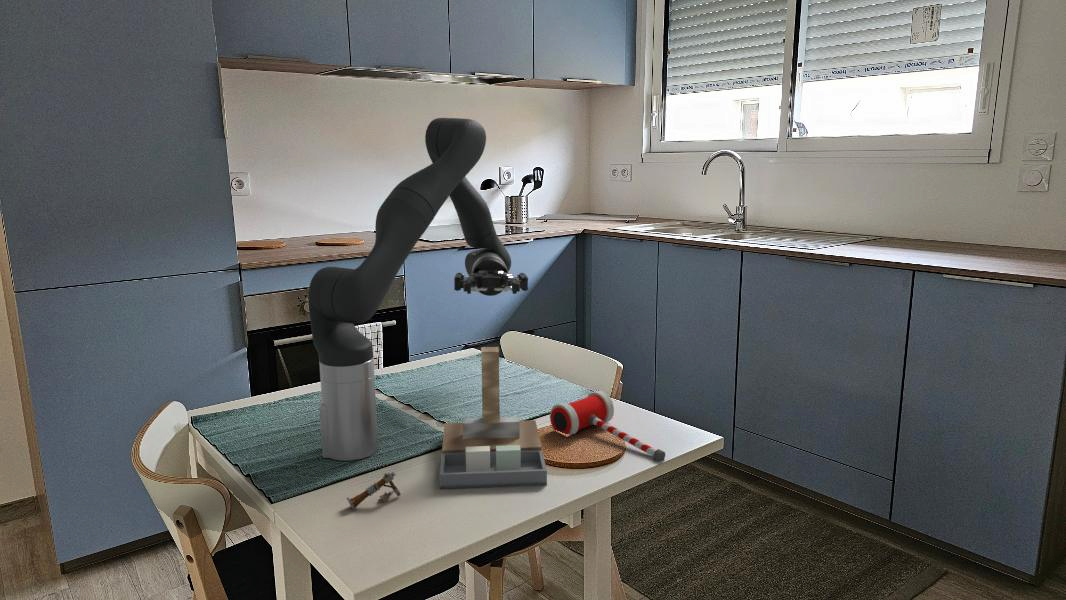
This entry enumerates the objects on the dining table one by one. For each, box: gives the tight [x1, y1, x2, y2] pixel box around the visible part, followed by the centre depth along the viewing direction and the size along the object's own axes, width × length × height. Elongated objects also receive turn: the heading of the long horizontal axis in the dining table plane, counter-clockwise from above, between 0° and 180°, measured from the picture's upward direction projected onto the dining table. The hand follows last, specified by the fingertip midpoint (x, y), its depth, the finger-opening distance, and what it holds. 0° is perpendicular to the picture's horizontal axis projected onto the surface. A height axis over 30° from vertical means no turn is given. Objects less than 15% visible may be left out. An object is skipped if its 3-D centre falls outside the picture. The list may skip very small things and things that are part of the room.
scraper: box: [462, 346, 520, 440], centre depth 126 cm, size 10×3×16 cm, turn 95°
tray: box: [439, 449, 548, 490], centre depth 119 cm, size 17×8×2 cm, turn 95°
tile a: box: [466, 446, 490, 472], centre depth 119 cm, size 4×4×2 cm
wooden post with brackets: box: [345, 471, 402, 512], centre depth 110 cm, size 2×8×4 cm, turn 119°
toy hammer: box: [549, 390, 666, 462], centre depth 133 cm, size 23×12×6 cm, turn 42°
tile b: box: [496, 445, 521, 471], centre depth 120 cm, size 4×4×2 cm
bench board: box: [441, 419, 543, 454], centre depth 129 cm, size 17×12×3 cm
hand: (492, 288), depth 134 cm, fingers open, 8 cm apart
